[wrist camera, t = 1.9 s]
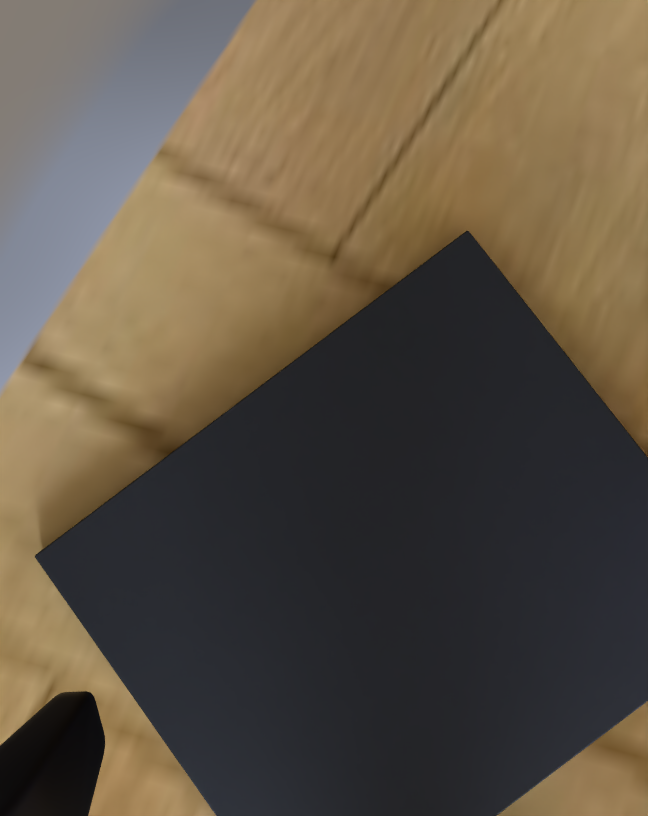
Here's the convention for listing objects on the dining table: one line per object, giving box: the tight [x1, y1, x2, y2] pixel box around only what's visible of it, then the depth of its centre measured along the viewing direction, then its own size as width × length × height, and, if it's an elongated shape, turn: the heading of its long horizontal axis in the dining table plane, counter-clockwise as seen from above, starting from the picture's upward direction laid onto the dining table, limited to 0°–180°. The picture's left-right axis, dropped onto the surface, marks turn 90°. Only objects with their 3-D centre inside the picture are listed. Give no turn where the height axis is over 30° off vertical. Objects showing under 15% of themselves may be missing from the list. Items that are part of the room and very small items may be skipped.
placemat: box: [35, 231, 648, 816], centre depth 21 cm, size 18×21×1 cm
